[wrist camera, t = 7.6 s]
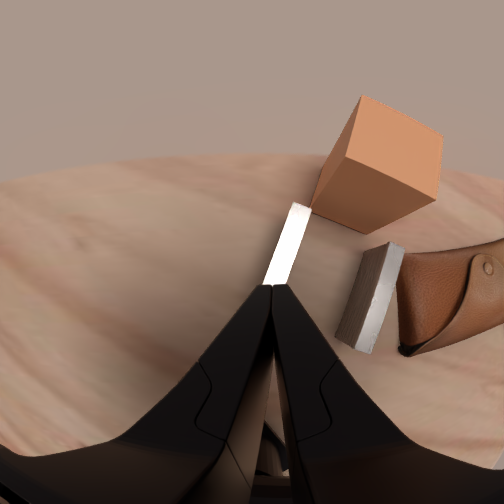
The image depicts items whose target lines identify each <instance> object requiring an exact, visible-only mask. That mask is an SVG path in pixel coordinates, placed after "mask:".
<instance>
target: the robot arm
mask: <svg viewBox="0 0 504 504" xmlns="http://www.w3.org/2000/svg"><path fill="white" fill-rule="evenodd" d="M273 359H275V368H276V375H277V383H278V391H279V398H280V406H281V413H282V421H283V429H284V437H285V444H284V443H283V442H282V441H281V439H280V438H279V437H278V436H277V435H276V434H275V432H274V431H273V430H272V429H271V428H270V426H269V425H268V424H267V423H266V421H265V420H264V418H265V411H266V405H267V399H268V393H269V387H270V380H271V373H272V367H273ZM287 469H289V476H283V473H282V472H283V471H285V470H287ZM0 504H504V469H503V470H492V469H487V468H482V467H479V466H476V465H473V464H469V463H466V462H463V461H460V460H457V459H454V458H452V457H449V456H446V455H443V454H440V453H438V452H435V451H432V450H430V449H427V448H425V447H422V446H420V445H418V444H417V443H415V442H414V441H412V440H411V439H409V438H408V437H407V436H406V435H405V434H404V433H403V432H402V431H401V430H400V429H399V428H398V427H397V426H396V425H395V424H394V423H393V422H392V421H391V420H390V419H389V418H388V417H387V416H386V414H385V413H384V412H383V411H382V410H381V409H380V408H379V407H378V406H377V405H376V404H375V403H374V402H373V400H372V399H371V398H370V397H369V396H368V395H367V394H366V393H365V391H364V390H363V389H362V388H361V387H360V386H359V385H358V383H357V382H356V381H355V379H354V378H353V377H352V375H351V374H350V373H349V371H348V370H347V369H346V367H345V366H344V364H343V363H342V361H341V360H340V359H339V357H338V356H337V354H336V353H335V352H334V350H333V349H332V347H331V346H330V344H329V343H328V341H327V340H326V339H325V337H324V336H323V334H322V333H321V331H320V330H319V329H318V327H317V326H316V324H315V323H314V321H313V320H312V319H311V317H310V316H309V314H308V313H307V311H306V310H305V309H304V307H303V306H302V304H301V303H300V301H299V300H298V299H297V297H296V296H295V294H294V293H293V291H292V290H291V289H290V287H289V286H288V285H287V284H274V285H273V286H272V285H271V284H260V285H257V286H256V288H255V289H254V290H253V291H252V293H251V294H250V295H249V296H248V298H247V299H246V300H245V302H244V303H243V304H242V305H241V307H240V308H239V309H238V310H237V312H236V313H235V314H234V315H233V317H232V318H231V319H230V321H229V322H228V323H227V324H226V326H225V327H224V328H223V329H222V331H221V332H220V333H219V334H218V336H217V337H216V338H215V339H214V341H213V342H212V343H211V344H210V345H209V347H208V348H207V349H206V350H205V352H204V353H203V354H202V355H201V357H200V358H199V359H198V362H195V364H194V365H193V366H192V367H191V369H190V370H189V371H188V372H187V373H186V375H185V376H184V377H183V378H182V379H181V380H180V381H179V382H178V384H177V385H176V386H175V387H174V388H173V389H172V390H171V391H170V392H169V393H168V394H167V395H166V396H165V397H164V398H163V399H162V400H160V401H159V402H158V403H157V404H156V405H155V406H154V407H153V408H152V409H151V410H150V411H148V412H147V413H146V414H145V415H144V416H143V417H142V418H141V419H140V420H139V421H137V422H136V423H135V424H134V425H133V426H132V427H131V428H130V429H128V430H127V431H126V432H124V433H123V434H122V435H120V436H118V437H116V438H115V439H112V440H110V441H108V442H104V443H101V444H97V445H93V446H89V447H84V448H80V449H75V450H71V451H66V452H61V453H56V454H51V455H45V456H36V457H30V456H22V455H18V454H16V453H14V452H12V451H11V450H9V449H8V448H6V447H5V446H3V445H1V444H0Z"/></svg>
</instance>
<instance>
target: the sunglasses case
mask: <svg viewBox="0 0 504 504" xmlns="http://www.w3.org/2000/svg"><path fill="white" fill-rule="evenodd" d="M396 289H397V290H396V291H397V302H398V318H399V337H400V344H401V346H399V347H398V350H399V352H400V353H401V354H402V355H403V356H404V357H412V356H415V355H418V354H421V353H425V352H429V351H432V350H436V349H439V348H442V347H446V346H449V345H451V344H454V343H457V342H460V341H462V340H465V339H468V338H470V337H472V336H475V335H477V334H480V333H482V332H484V331H487V330H489V329H491V328H494V327H496V326H498V325H500V324H502V323H504V238H503V239H500V240H498V241H495V242H491V243H487V244H482V245H477V246H472V247H466V248H460V249H453V250H447V251H439V252H428V253H412V254H404V255H403V259H402V263H401V266H400V270H399V273H398V277H397V280H396Z"/></svg>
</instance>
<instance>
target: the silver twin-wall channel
mask: <svg viewBox="0 0 504 504" xmlns="http://www.w3.org/2000/svg"><path fill="white" fill-rule="evenodd" d="M311 211H312V209H310V208H308V207H305V206H303V205H300V204H297V203H295V202H293V204H292V206H291V209H290V212H289V215H288V217H287V220H286V223H285V226H284V228H283V231H282V234H281V236H280V239H279V242H278V245H277V247H276V250H275V253H274V255H273V258H272V261H271V263H270V266H269V269H268V271H267V274H266V277H265V279H264V282H263V284H271V285H272V286H273V285H274V284H285V283H286V280H287V278H288V275H289V272H290V270H291V267H292V264H293V261H294V259H295V256H296V253H297V250H298V248H299V245H300V242H301V239H302V236H303V234H304V231H305V228H306V225H307V222H308V219H309V216H310V213H311ZM404 251H405V248H403V247H401V246H399V245H397V244H395V243H392V242H387V244H384V245H381V246H379V247H376V248H373V249H370V250H367V251H365V252H364V255H363V259H362V262H361V265H360V268H359V271H358V274H357V277H356V280H355V283H354V286H353V289H352V292H351V295H350V298H349V301H348V304H347V306H346V309H345V312H344V315H343V317H342V320H341V323H340V325H339V328H338V330H337V333H336V336H335V337H336V338H338V339H339V340H341V341H342V342H344V343H345V344H347V345H349V346H350V347H352V348H353V349H355V350H358V351H361V352H364V353H367V354H371V352H372V349H373V347H374V344H375V342H376V339H377V336H378V334H379V331H380V328H381V326H382V323H383V320H384V317H385V314H386V311H387V308H388V305H389V302H390V299H391V296H392V293H393V290H394V287H395V283H396V280H397V277H398V273H399V270H400V266H401V263H402V259H403V255H404Z"/></svg>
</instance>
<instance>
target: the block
mask: <svg viewBox="0 0 504 504" xmlns="http://www.w3.org/2000/svg"><path fill="white" fill-rule="evenodd" d="M442 148H443V136H442V135H441V134H439V133H437V132H436V131H434V130H432V129H430V128H429V127H427V126H425V125H423V124H422V123H420V122H418V121H416V120H414V119H412V118H410V117H409V116H406V115H405V114H403V113H401V112H399V111H397V110H395V109H392V108H391V107H388V106H386V105H384V104H382V103H380V102H378V101H375V100H373V99H371V98H369V97H366V96H364V95H362V96H361V97H360V99H359V101H358V103H357V105H356V107H355V109H354V111H353V113H352V114H351V116H350V118H349V120H348V122H347V124H346V126H345V127H344V129H343V131H342V133H341V135H340V137H339V139H338V140H337V142H336V144H335V146H334V148H333V150H332V151H331V153H330V155H329V157H328V159H327V161H326V162H325V164H324V166H323V169H322V172H321V175H320V178H319V181H318V184H317V187H316V190H315V193H314V196H313V199H312V202H311V205H310V207H309V208H310V209H312V211H311V212H312V213H315V214H317V215H320V216H322V217H325V218H328V219H330V220H333V221H335V222H337V223H340V224H342V225H345V226H347V227H350V228H352V229H355V230H357V231H359V232H362V233H364V234H366V235H367V234H369V233H371V232H373V231H375V230H377V229H379V228H381V227H384V226H386V225H388V224H390V223H392V222H394V221H396V220H398V219H400V218H402V217H404V216H406V215H408V214H410V213H412V212H414V211H416V210H418V209H420V208H422V207H424V206H426V205H428V204H430V203H431V202H433V201H435V200H436V198H437V192H438V185H439V177H440V169H441V159H442Z"/></svg>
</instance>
